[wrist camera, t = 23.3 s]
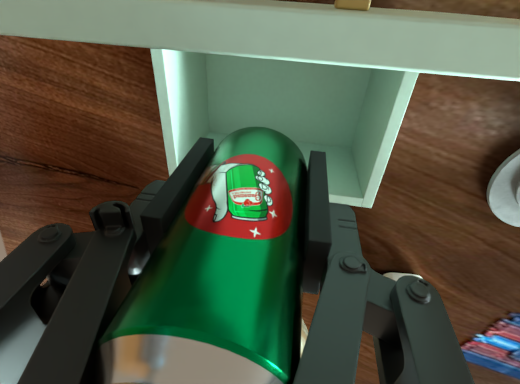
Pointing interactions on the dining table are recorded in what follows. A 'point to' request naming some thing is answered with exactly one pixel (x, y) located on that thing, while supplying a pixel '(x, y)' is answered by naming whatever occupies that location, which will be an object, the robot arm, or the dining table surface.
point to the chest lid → (283, 32)
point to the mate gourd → (506, 190)
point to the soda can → (220, 277)
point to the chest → (286, 111)
